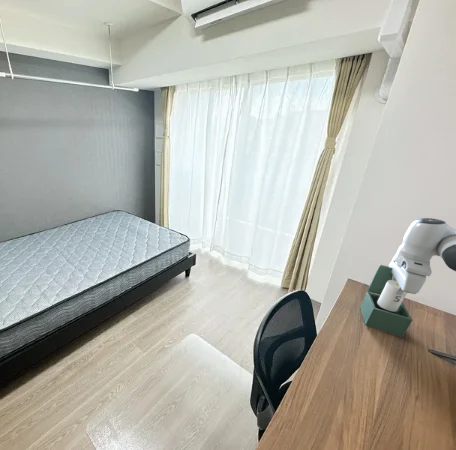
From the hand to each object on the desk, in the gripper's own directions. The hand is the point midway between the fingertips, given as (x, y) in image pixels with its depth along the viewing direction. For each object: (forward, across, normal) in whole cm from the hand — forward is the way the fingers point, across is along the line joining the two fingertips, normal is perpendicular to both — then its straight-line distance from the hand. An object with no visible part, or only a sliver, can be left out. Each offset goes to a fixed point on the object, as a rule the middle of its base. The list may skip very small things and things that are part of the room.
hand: (395, 290), depth 96 cm
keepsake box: (+16, 0, 0) cm, 16 cm away
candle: (+8, 0, 0) cm, 8 cm away
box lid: (0, -6, 0) cm, 6 cm away
